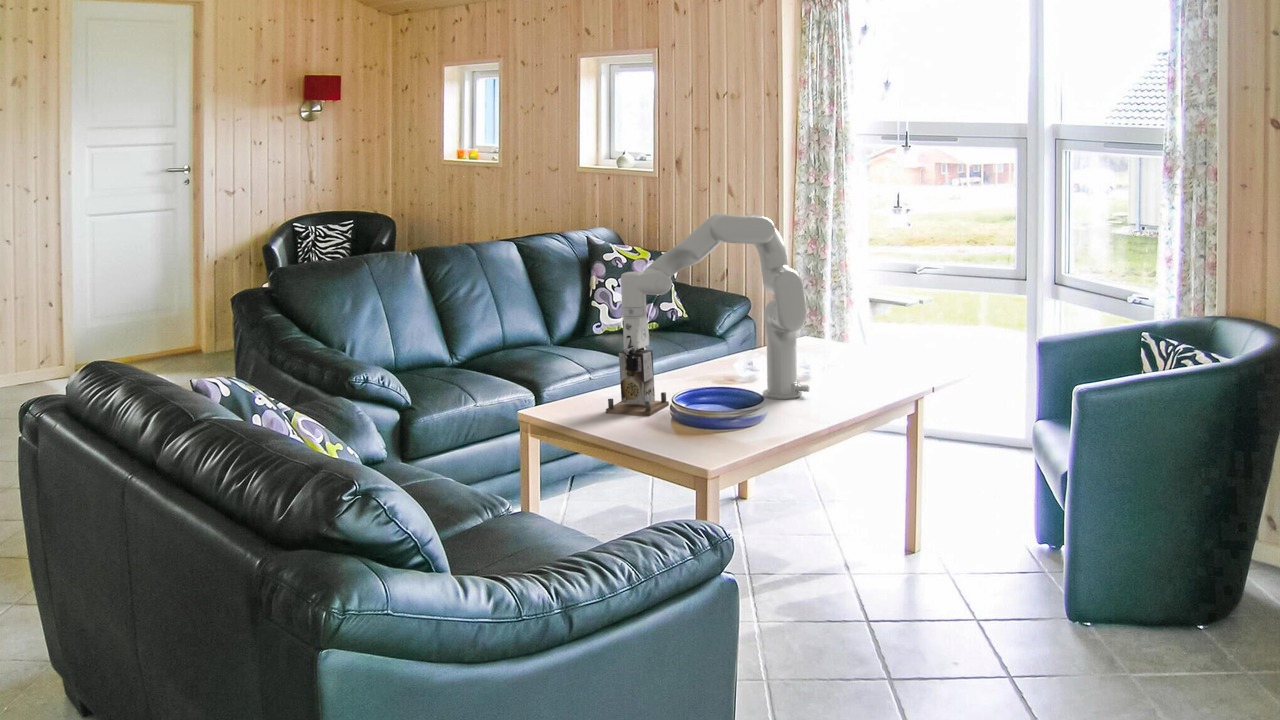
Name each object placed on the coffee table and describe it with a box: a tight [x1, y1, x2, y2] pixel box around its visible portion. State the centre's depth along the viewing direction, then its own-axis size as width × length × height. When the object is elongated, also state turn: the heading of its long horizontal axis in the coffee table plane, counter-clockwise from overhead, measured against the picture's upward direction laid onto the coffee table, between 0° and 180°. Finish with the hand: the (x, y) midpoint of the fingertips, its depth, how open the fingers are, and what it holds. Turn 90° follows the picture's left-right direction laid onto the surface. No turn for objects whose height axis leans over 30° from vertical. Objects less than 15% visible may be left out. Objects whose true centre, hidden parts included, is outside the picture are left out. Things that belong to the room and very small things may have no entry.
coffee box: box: [618, 349, 656, 404], centre depth 377 cm, size 9×6×16 cm
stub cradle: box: [605, 391, 670, 417], centre depth 379 cm, size 15×15×4 cm
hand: (636, 367), depth 377 cm, fingers closed on coffee box, 6 cm apart
